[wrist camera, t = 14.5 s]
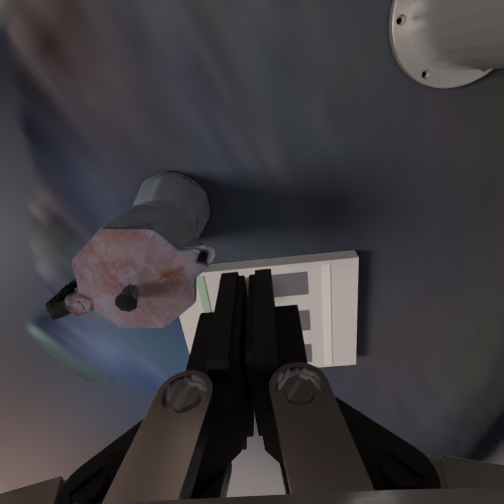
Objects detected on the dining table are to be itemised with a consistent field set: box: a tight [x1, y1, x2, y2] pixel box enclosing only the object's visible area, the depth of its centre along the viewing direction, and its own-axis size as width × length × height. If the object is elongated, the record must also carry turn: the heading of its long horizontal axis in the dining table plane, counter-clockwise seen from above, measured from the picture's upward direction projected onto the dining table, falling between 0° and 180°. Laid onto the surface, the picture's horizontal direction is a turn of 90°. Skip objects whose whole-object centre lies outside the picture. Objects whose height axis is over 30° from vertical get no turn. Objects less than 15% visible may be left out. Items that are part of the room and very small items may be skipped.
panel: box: [179, 250, 359, 367], centre depth 47 cm, size 24×18×2 cm
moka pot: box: [45, 172, 216, 328], centre depth 32 cm, size 10×15×20 cm, turn 115°
